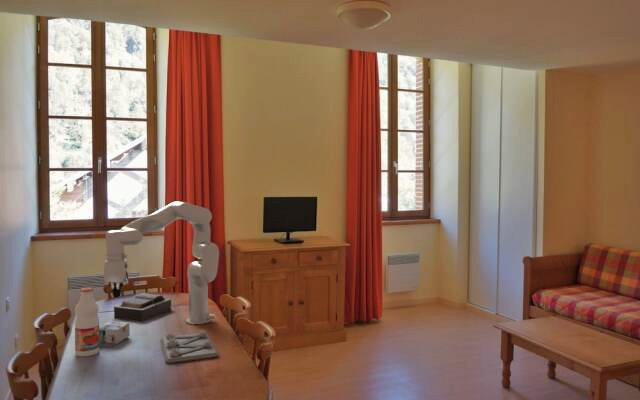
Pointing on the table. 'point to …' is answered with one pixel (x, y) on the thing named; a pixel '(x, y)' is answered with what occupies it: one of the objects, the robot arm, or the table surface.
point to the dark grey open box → (142, 307)
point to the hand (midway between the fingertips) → (116, 296)
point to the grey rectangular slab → (188, 347)
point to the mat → (107, 344)
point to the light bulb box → (113, 332)
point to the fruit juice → (86, 324)
